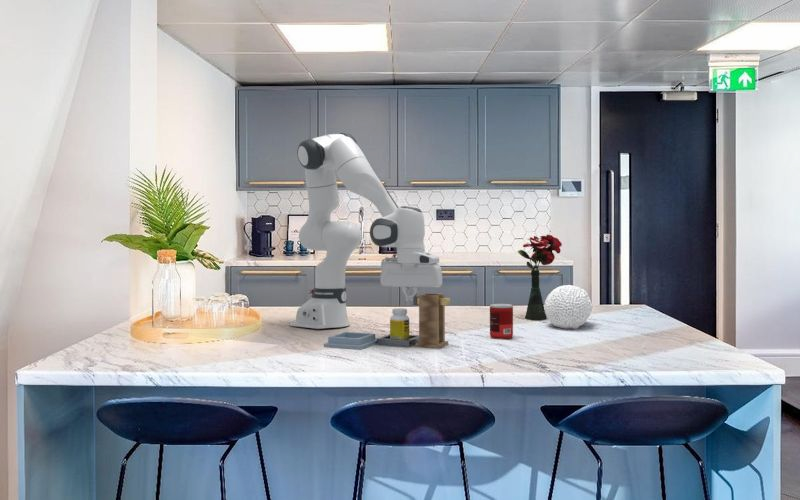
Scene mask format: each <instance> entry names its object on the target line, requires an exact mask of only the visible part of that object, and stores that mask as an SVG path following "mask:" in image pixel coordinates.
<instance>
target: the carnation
mask: <svg viewBox="0 0 800 500" xmlns="http://www.w3.org/2000/svg"><path fill="white" fill-rule="evenodd" d="M539 237H540V239H539ZM539 237H538V236H536V235H533V237H530V236H529V238H528V237H526V240H527V241H529V242H530V243H529V242H525V243H524V244H523V245H522V247H523V248H530V250H529V251H531V250H532V254H531V256H530V255H529V254H528V253H527V251H525V250H524V249H518V250H517V251H516V252H517V253H518V254H519V255H520V256H522V257H523V258H525V259H527V260H529V261H526V266H527V267H528V268H529V269H531V270H530V275H531V281H530V282H531V288H530V293H529V298H528V303H527V308H526V312H525V316H524V319H525V320H529V321H545V320H548V317H547V315H546V312H545V308H544V306H545V304H544V302H543V297H542V291H541V287H540V270H539V267H540V266H539V265H540V263H541V265H542V266H548V265H551V264H552V263H553V262H554V260H555V257H556V256H555V254H554V252H555V253H556V254H560V253H561V247H562V245H563V244H562V241H560V239H559V238H557V237H555V236H553V235H551V234H546V235H541V236H539ZM553 251H554V252H553ZM532 262H533V263H534V266H533V264H532Z"/></svg>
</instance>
